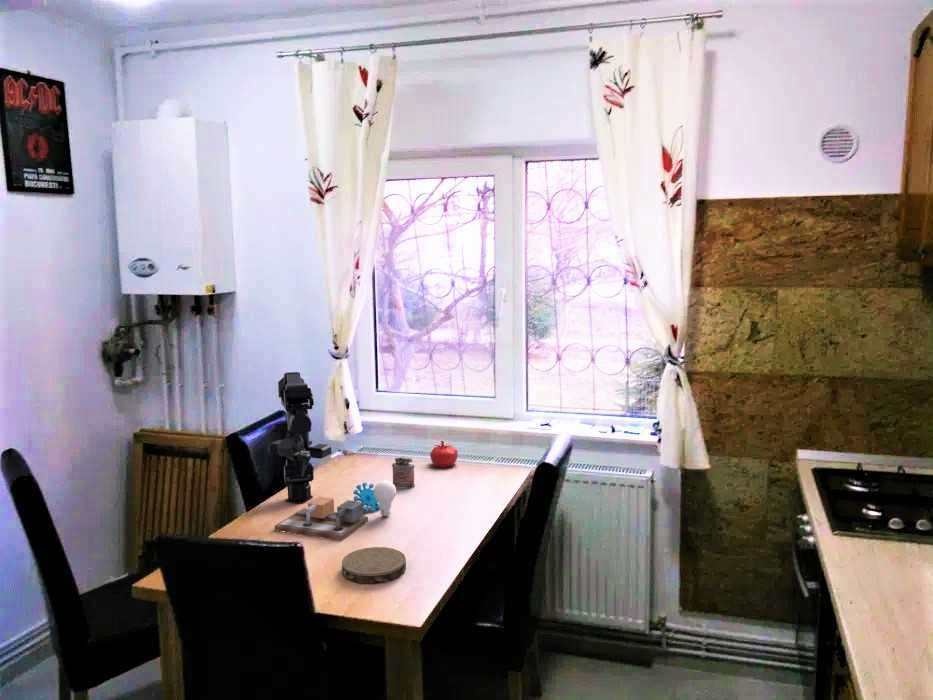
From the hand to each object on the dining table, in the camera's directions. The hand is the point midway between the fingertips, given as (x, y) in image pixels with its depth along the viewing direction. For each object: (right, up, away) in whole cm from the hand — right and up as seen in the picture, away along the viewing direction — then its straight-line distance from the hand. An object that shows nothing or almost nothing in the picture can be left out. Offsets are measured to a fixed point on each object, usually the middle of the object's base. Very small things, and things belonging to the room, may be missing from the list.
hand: (301, 476), depth 225 cm
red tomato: (+42, -4, +49) cm, 64 cm away
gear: (+20, -11, +5) cm, 24 cm away
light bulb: (+26, -12, -1) cm, 28 cm away
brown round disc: (+27, -18, -38) cm, 49 cm away
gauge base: (+8, -13, -8) cm, 17 cm away
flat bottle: (+29, -8, +26) cm, 40 cm away
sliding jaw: (+6, -11, -8) cm, 15 cm away
